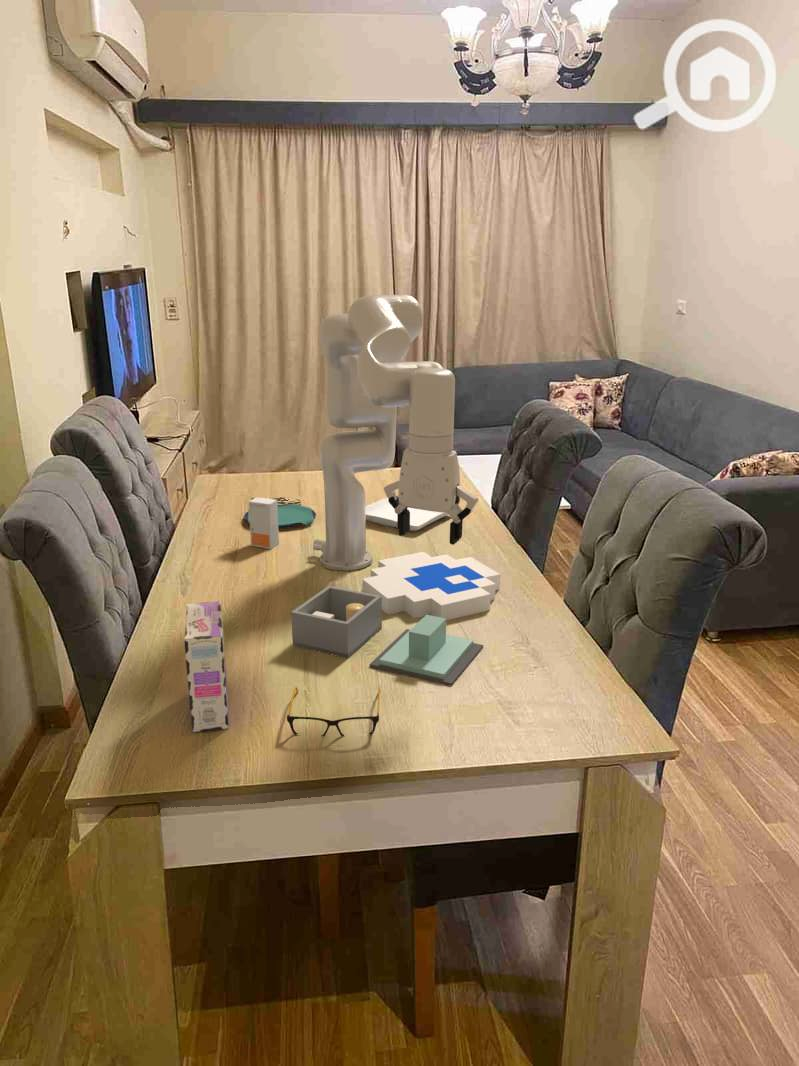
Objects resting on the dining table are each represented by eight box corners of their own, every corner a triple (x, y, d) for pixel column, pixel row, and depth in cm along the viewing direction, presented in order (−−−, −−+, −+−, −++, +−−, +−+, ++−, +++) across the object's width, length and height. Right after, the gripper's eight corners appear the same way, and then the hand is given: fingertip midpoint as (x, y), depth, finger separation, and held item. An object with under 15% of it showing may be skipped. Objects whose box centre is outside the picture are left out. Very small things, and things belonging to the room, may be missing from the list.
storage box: (292, 645, 156) (291, 612, 154) (329, 617, 168) (328, 585, 166) (348, 658, 151) (347, 624, 149) (381, 628, 163) (381, 596, 161)
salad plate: (457, 516, 232) (457, 505, 231) (417, 537, 215) (417, 525, 214) (394, 504, 243) (394, 493, 242) (352, 523, 226) (351, 511, 225)
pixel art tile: (452, 546, 198) (522, 586, 174) (451, 561, 199) (521, 604, 176) (346, 566, 185) (406, 613, 162) (347, 582, 186) (406, 631, 163)
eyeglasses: (286, 741, 127) (285, 718, 126) (297, 693, 141) (296, 672, 139) (379, 741, 127) (378, 718, 126) (380, 693, 141) (380, 672, 139)
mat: (369, 666, 149) (369, 664, 148) (406, 631, 162) (406, 628, 162) (451, 685, 142) (451, 683, 142) (483, 647, 156) (483, 645, 156)
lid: (379, 664, 148) (379, 634, 146) (412, 631, 161) (412, 603, 159) (444, 679, 143) (444, 648, 141) (473, 644, 156) (474, 615, 154)
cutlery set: (243, 534, 217) (243, 525, 216) (244, 502, 245) (244, 495, 244) (319, 531, 220) (318, 522, 219) (311, 500, 248) (311, 493, 248)
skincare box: (250, 546, 208) (247, 501, 204) (259, 541, 211) (256, 496, 207) (271, 549, 205) (269, 504, 201) (279, 544, 209) (277, 499, 205)
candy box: (229, 729, 129) (222, 635, 124) (191, 734, 128) (182, 639, 123) (228, 686, 142) (221, 599, 136) (193, 689, 141) (185, 601, 135)
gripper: (375, 442, 139) (375, 537, 145) (471, 453, 132) (467, 552, 138) (394, 433, 145) (394, 524, 151) (486, 443, 139) (482, 538, 144)
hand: (429, 537), depth 145 cm, fingers open, 9 cm apart
